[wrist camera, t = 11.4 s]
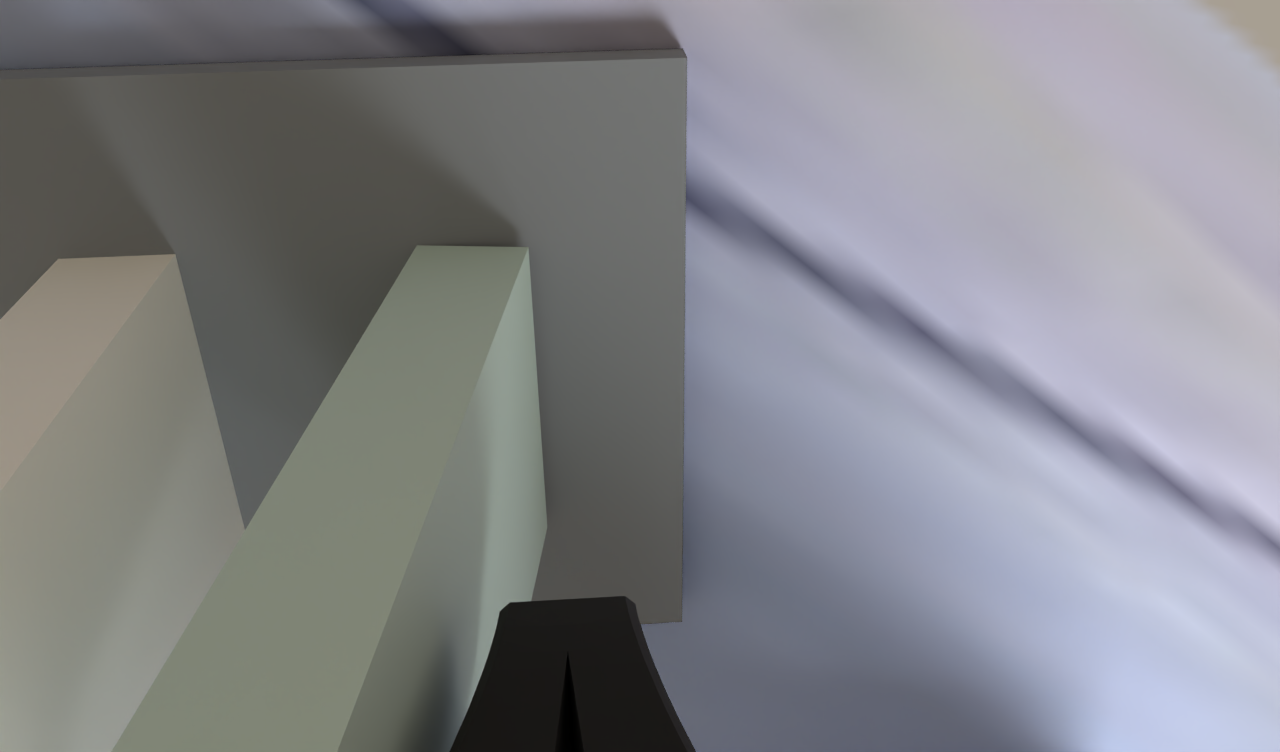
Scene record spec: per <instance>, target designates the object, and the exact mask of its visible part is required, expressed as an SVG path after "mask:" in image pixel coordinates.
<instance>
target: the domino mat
mask: <svg viewBox="0 0 1280 752" xmlns="http://www.w3.org/2000/svg"><path fill="white" fill-rule="evenodd" d="M686 104H687V57H686V55H685V52H684V50H683V49H656V50H623V51H591V52H559V53H527V54H495V55H463V56H431V57H399V58H367V59H335V60H302V61H270V62H238V63H206V64H174V65H142V66H110V67H78V68H46V69H14V70H0V319H1V318H2V317H3V316H4V315H5V314H6V313H7V312H8V311H9V310H10V309H11V308H12V307H13V306H14V305H15V303H16V302H17V301H18V300H19V299H20V298H21V297H22V296H23V295H24V294H25V293H26V292H27V291H28V290H29V289H30V288H31V287H32V286H33V285H34V284H35V283H36V282H37V281H38V279H39V278H40V277H41V276H42V275H43V274H44V273H45V272H46V271H47V270H48V269H49V268H50V267H51V266H52V265H53V264H54V263H55V262H56V261H57V260H58V259H67V258H92V257H116V256H141V255H165V254H175V255H176V259H177V263H178V267H179V271H180V275H181V279H182V283H183V287H184V291H185V295H186V299H187V303H188V307H189V310H190V314H191V318H192V322H193V326H194V330H195V334H196V338H197V342H198V346H199V350H200V354H201V358H202V362H203V366H204V370H205V374H206V378H207V382H208V386H209V390H210V394H211V398H212V402H213V406H214V410H215V414H216V418H217V422H218V426H219V430H220V433H221V437H222V441H223V445H224V449H225V453H226V457H227V461H228V465H229V469H230V473H231V477H232V481H233V485H234V489H235V493H236V497H237V501H238V505H239V509H240V513H241V517H242V521H243V525H244V529H245V530H246V528H247V526H248V525H249V523H250V521H251V520H252V518H253V516H254V515H255V513H256V511H257V510H258V508H259V506H260V505H261V503H262V501H263V500H264V498H265V496H266V495H267V493H268V491H269V490H270V488H271V486H272V485H273V483H274V481H275V480H276V478H277V476H278V475H279V473H280V471H281V470H282V468H283V467H284V465H285V463H286V462H287V460H288V458H289V457H290V455H291V453H292V452H293V450H294V448H295V447H296V445H297V443H298V442H299V440H300V438H301V437H302V435H303V433H304V432H305V430H306V428H307V427H308V425H309V423H310V422H311V420H312V418H313V417H314V415H315V413H316V412H317V410H318V408H319V407H320V405H321V404H322V402H323V400H324V399H325V397H326V395H327V394H328V392H329V390H330V389H331V387H332V385H333V384H334V382H335V380H336V379H337V377H338V375H339V374H340V372H341V370H342V369H343V367H344V365H345V364H346V362H347V360H348V359H349V357H350V355H351V354H352V352H353V350H354V349H355V347H356V345H357V344H358V342H359V341H360V339H361V337H362V336H363V334H364V332H365V331H366V329H367V327H368V326H369V324H370V322H371V321H372V319H373V317H374V316H375V314H376V312H377V311H378V309H379V307H380V306H381V304H382V302H383V301H384V299H385V297H386V296H387V294H388V292H389V291H390V289H391V287H392V286H393V284H394V283H395V281H396V279H397V278H398V276H399V274H400V273H401V271H402V269H403V268H404V266H405V264H406V263H407V261H408V259H409V258H410V256H411V254H412V253H413V251H414V249H415V248H416V246H417V245H429V246H490V247H528V248H529V262H530V277H531V292H532V307H533V322H534V336H535V351H536V366H537V381H538V396H539V410H540V425H541V440H542V455H543V469H544V484H545V499H546V514H547V531H546V536H545V540H544V545H543V549H542V554H541V558H540V563H539V568H538V572H537V577H536V581H535V586H534V590H533V595H532V599H531V601H543V600H561V599H579V598H597V597H614V596H626V597H627V598H628V599H630V600H631V601H632V602H634V603H635V604H636V609H637V614H638V618H639V621H640V624H652V623H668V622H682V554H683V441H684V329H685V216H686Z"/></svg>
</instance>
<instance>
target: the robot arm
mask: <svg viewBox="0 0 1280 752" xmlns="http://www.w3.org/2000/svg"><path fill="white" fill-rule="evenodd" d="M449 752H696V751H695V749H694V747H693V745H692V743H691V741H690V739H689V737H688V736H687V734H686V732H685V730H684V728H683V726H682V724H681V722H680V720H679V718H678V716H677V714H676V712H675V710H674V708H673V706H672V703H671V701H670V699H669V697H668V695H667V693H666V690H665V688H664V686H663V683H662V681H661V679H660V676H659V674H658V672H657V669H656V667H655V665H654V662H653V659H652V657H651V654H650V652H649V649H648V646H647V643H646V640H645V638H644V635H643V631H642V628H641V625H640V621H639V618H638V614H637V609H636V604H635V603H634V602H632V601H631V600H630V599H628V598H627V597H626V596H614V597H597V598H579V599H561V600H543V601H525V602H510V603H509V604H507V605H506V606H505V607H504V608H503V609H502V610H501V611H500V612H499V617H498V622H497V626H496V630H495V634H494V637H493V641H492V644H491V648H490V651H489V654H488V657H487V660H486V663H485V666H484V669H483V672H482V675H481V677H480V680H479V682H478V685H477V688H476V690H475V693H474V695H473V698H472V701H471V703H470V706H469V708H468V711H467V713H466V715H465V717H464V720H463V722H462V724H461V726H460V729H459V731H458V733H457V736H456V738H455V740H454V742H453V745H452V747H451V749H450V751H449Z"/></svg>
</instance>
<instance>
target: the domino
mask: <svg viewBox="0 0 1280 752" xmlns="http://www.w3.org/2000/svg"><path fill="white" fill-rule="evenodd" d="M244 531H245V529H244V525H243V521H242V517H241V513H240V509H239V505H238V501H237V497H236V493H235V489H234V485H233V481H232V477H231V473H230V469H229V465H228V461H227V457H226V453H225V449H224V445H223V441H222V437H221V433H220V430H219V426H218V422H217V418H216V414H215V410H214V406H213V402H212V398H211V394H210V390H209V386H208V382H207V378H206V374H205V370H204V366H203V362H202V358H201V354H200V350H199V346H198V342H197V338H196V334H195V330H194V326H193V322H192V318H191V314H190V310H189V307H188V303H187V299H186V295H185V291H184V287H183V283H182V279H181V275H180V271H179V267H178V263H177V259H176V255H175V254H165V255H141V256H116V257H92V258H67V259H58V260H57V261H56V262H55V263H54V264H53V265H52V266H51V267H50V268H49V269H48V270H47V271H46V272H45V273H44V274H43V275H42V276H41V277H40V278H39V279H38V281H37V282H36V283H35V284H34V285H33V286H32V287H31V288H30V289H29V290H28V291H27V292H26V293H25V294H24V295H23V296H22V297H21V298H20V299H19V300H18V301H17V302H16V303H15V305H14V306H13V307H12V308H11V309H10V310H9V311H8V312H7V313H6V314H5V315H4V316H3V317H2V318H1V319H0V752H112V750H113V748H114V747H115V745H116V743H117V742H118V740H119V738H120V737H121V735H122V733H123V732H124V730H125V728H126V727H127V725H128V723H129V722H130V720H131V719H132V717H133V715H134V714H135V712H136V710H137V709H138V707H139V705H140V704H141V702H142V700H143V699H144V697H145V695H146V694H147V692H148V690H149V689H150V687H151V685H152V684H153V682H154V680H155V679H156V677H157V675H158V674H159V672H160V670H161V669H162V667H163V665H164V664H165V662H166V660H167V659H168V657H169V656H170V654H171V652H172V651H173V649H174V647H175V646H176V644H177V642H178V641H179V639H180V637H181V636H182V634H183V632H184V631H185V629H186V627H187V626H188V624H189V622H190V621H191V619H192V617H193V616H194V614H195V612H196V611H197V609H198V607H199V606H200V604H201V602H202V601H203V599H204V597H205V596H206V594H207V593H208V591H209V589H210V588H211V586H212V584H213V583H214V581H215V579H216V578H217V576H218V574H219V573H220V571H221V569H222V568H223V566H224V564H225V563H226V561H227V559H228V558H229V556H230V554H231V553H232V551H233V549H234V548H235V546H236V544H237V543H238V541H239V539H240V538H241V536H242V534H243V533H244Z"/></svg>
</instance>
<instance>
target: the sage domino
mask: <svg viewBox="0 0 1280 752" xmlns="http://www.w3.org/2000/svg"><path fill="white" fill-rule="evenodd" d="M546 531H547V514H546V499H545V484H544V469H543V455H542V440H541V425H540V410H539V396H538V381H537V366H536V351H535V336H534V322H533V307H532V292H531V277H530V262H529V248H528V247H490V246H429V245H417V246H416V248H415V249H414V251H413V253H412V254H411V256H410V258H409V259H408V261H407V263H406V264H405V266H404V268H403V269H402V271H401V273H400V274H399V276H398V278H397V279H396V281H395V283H394V284H393V286H392V287H391V289H390V291H389V292H388V294H387V296H386V297H385V299H384V301H383V302H382V304H381V306H380V307H379V309H378V311H377V312H376V314H375V316H374V317H373V319H372V321H371V322H370V324H369V326H368V327H367V329H366V331H365V332H364V334H363V336H362V337H361V339H360V341H359V342H358V344H357V345H356V347H355V349H354V350H353V352H352V354H351V355H350V357H349V359H348V360H347V362H346V364H345V365H344V367H343V369H342V370H341V372H340V374H339V375H338V377H337V379H336V380H335V382H334V384H333V385H332V387H331V389H330V390H329V392H328V394H327V395H326V397H325V399H324V400H323V402H322V404H321V405H320V407H319V408H318V410H317V412H316V413H315V415H314V417H313V418H312V420H311V422H310V423H309V425H308V427H307V428H306V430H305V432H304V433H303V435H302V437H301V438H300V440H299V442H298V443H297V445H296V447H295V448H294V450H293V452H292V453H291V455H290V457H289V458H288V460H287V462H286V463H285V465H284V467H283V468H282V470H281V471H280V473H279V475H278V476H277V478H276V480H275V481H274V483H273V485H272V486H271V488H270V490H269V491H268V493H267V495H266V496H265V498H264V500H263V501H262V503H261V505H260V506H259V508H258V510H257V511H256V513H255V515H254V516H253V518H252V520H251V521H250V523H249V525H248V526H247V528H246V530H245V531H244V533H243V534H242V536H241V538H240V539H239V541H238V543H237V544H236V546H235V548H234V549H233V551H232V553H231V554H230V556H229V558H228V559H227V561H226V563H225V564H224V566H223V568H222V569H221V571H220V573H219V574H218V576H217V578H216V579H215V581H214V583H213V584H212V586H211V588H210V589H209V591H208V593H207V594H206V596H205V597H204V599H203V601H202V602H201V604H200V606H199V607H198V609H197V611H196V612H195V614H194V616H193V617H192V619H191V621H190V622H189V624H188V626H187V627H186V629H185V631H184V632H183V634H182V636H181V637H180V639H179V641H178V642H177V644H176V646H175V647H174V649H173V651H172V652H171V654H170V656H169V657H168V659H167V660H166V662H165V664H164V665H163V667H162V669H161V670H160V672H159V674H158V675H157V677H156V679H155V680H154V682H153V684H152V685H151V687H150V689H149V690H148V692H147V694H146V695H145V697H144V699H143V700H142V702H141V704H140V705H139V707H138V709H137V710H136V712H135V714H134V715H133V717H132V719H131V720H130V722H129V723H128V725H127V727H126V728H125V730H124V732H123V733H122V735H121V737H120V738H119V740H118V742H117V743H116V745H115V747H114V748H113V750H112V752H449V751H450V749H451V747H452V745H453V742H454V740H455V738H456V736H457V733H458V731H459V729H460V726H461V724H462V722H463V720H464V717H465V715H466V713H467V711H468V708H469V706H470V703H471V701H472V698H473V695H474V693H475V690H476V688H477V685H478V682H479V680H480V677H481V675H482V672H483V669H484V666H485V663H486V660H487V657H488V654H489V651H490V648H491V644H492V641H493V637H494V634H495V630H496V626H497V622H498V617H499V612H500V611H501V610H502V609H503V608H504V607H505V606H506V605H507V604H509V603H510V602H525V601H531V599H532V595H533V590H534V586H535V581H536V577H537V572H538V568H539V563H540V558H541V554H542V549H543V545H544V540H545V536H546Z"/></svg>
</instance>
